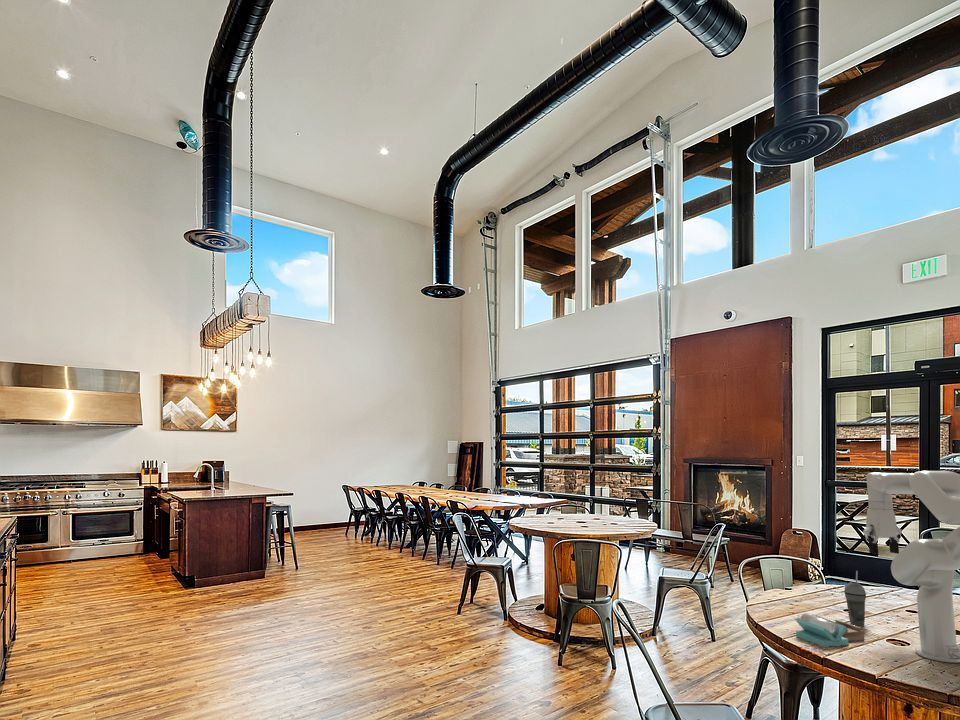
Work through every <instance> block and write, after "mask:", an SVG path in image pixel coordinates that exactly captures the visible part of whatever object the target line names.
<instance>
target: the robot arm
mask: <svg viewBox="0 0 960 720" xmlns="http://www.w3.org/2000/svg"><path fill="white" fill-rule="evenodd" d="M866 486H867V487H866V489H867V502H868V509H867V511H866V517H865V518H866V519H865V521H866V522H865V526H866V527H865V529H863V530H862V533H863V535H864V539H865V540H866V542H867V543H868V549H869V551H868V552H869V554H871V555H876V556H878V555H879V543H877V542H878V540H879V539H881V538H882V539H889V541H888V542H889V543H888V544H889V553H892V554H896V555H895V556H894V558H893V559H892V561H891V565H890V571H891V575H892V576H893V579H894V580H896V581H897V582H898V583H899V584H902V585H905V586H915V587H916V586H917V587H919V588H918V591H917V596H916V606H917V616H918V617H917V618H918V629H919V630H918V631H919V639H920V641H919V642H920V645H919V646H916V647H915V649H914V650H915V651H914V652H915V653H916V654H917V655H919V656H921V657H923V658H925V659H929V660H933V661H937V662H943V663H950V664H951V663H952V664H953V663H954V664H956V663H957V664H958V663H960V645H958V644H957V642H958V641H957V632H956V631H957V630H956V623H955V622H956V621H955V614H954V613H955V611H954V610H955V609H954V598H953V596H954V595H953V590H954V589H953V588H954V581H955V571H956V570H960V474H959V473H957V472H954V471H952V470H951V471H950V470H921V471H920V470H919V471H915V472H914V473H913V472H911V473H910V472H908V473H907V472H877V471H876V472H869V473H867V474H866ZM893 495H916V496H917V497H918V499H919V500H920V501H921V502H922V503H923V505H925V507H926V508H927V509H928V510H929V512H931V514H932V515H933V516H934V517H935V519H937V520H938V521H940V522H941V523H943V524H945V525H950V526H959V527H957V528H954V529H953V530H952V531H951V532H949V534H948V535H946V536H945V537H943V538H922V539H921V538H919V539H915V540H912V541H910V542H909V543H908V544H906V546H905V547H904V548H903V549H901V551H900V550H899V549H900V548H899V547H900V546H899V543H900V539H901V537H902V532H903V530H902V529H901V527H898V524H897V519H896V516H895V515H896V514H895V511H894V506H893V505H894V503H893Z"/></svg>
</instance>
